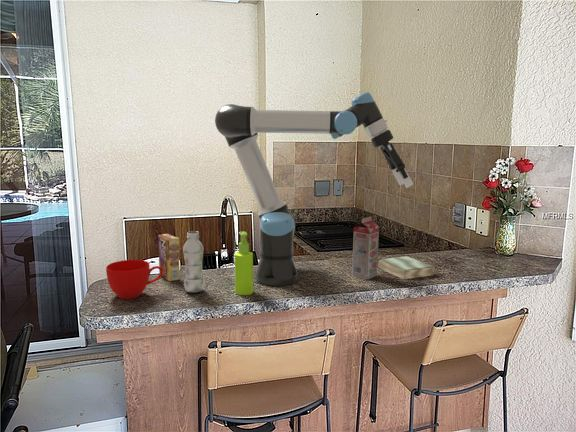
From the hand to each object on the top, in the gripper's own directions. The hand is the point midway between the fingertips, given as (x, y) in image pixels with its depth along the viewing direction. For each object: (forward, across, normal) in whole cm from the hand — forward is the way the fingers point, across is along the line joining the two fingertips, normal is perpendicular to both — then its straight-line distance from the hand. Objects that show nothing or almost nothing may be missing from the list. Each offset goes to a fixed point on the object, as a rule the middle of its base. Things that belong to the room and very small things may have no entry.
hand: (406, 185), depth 168 cm
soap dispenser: (+3, -25, +66) cm, 71 cm away
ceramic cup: (-14, -32, +95) cm, 102 cm away
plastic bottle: (-5, -27, +80) cm, 85 cm away
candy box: (-12, -14, +91) cm, 93 cm away
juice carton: (+22, -3, +29) cm, 37 cm away
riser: (+30, +4, +15) cm, 34 cm away
